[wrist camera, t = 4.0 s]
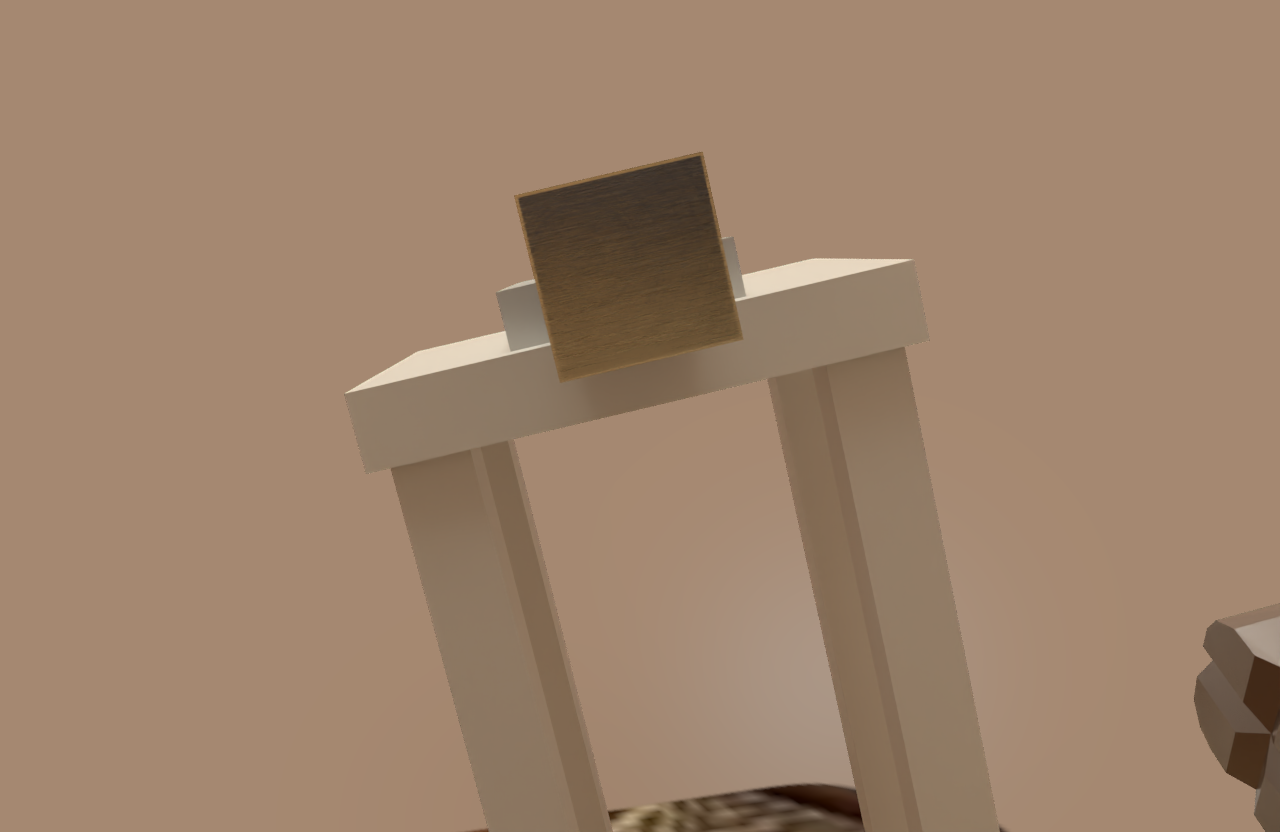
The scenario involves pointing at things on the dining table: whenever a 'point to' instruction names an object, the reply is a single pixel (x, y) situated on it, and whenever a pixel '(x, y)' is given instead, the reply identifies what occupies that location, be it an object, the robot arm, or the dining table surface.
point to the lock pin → (629, 267)
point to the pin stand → (825, 506)
